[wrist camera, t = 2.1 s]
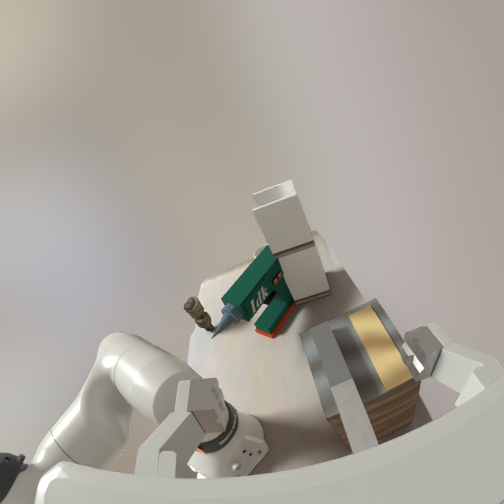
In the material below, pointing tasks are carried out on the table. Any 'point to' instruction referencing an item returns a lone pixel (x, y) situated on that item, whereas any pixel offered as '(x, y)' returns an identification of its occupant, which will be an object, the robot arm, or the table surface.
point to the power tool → (259, 296)
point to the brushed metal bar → (343, 390)
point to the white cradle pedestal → (291, 241)
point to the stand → (368, 370)
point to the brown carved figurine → (198, 313)
